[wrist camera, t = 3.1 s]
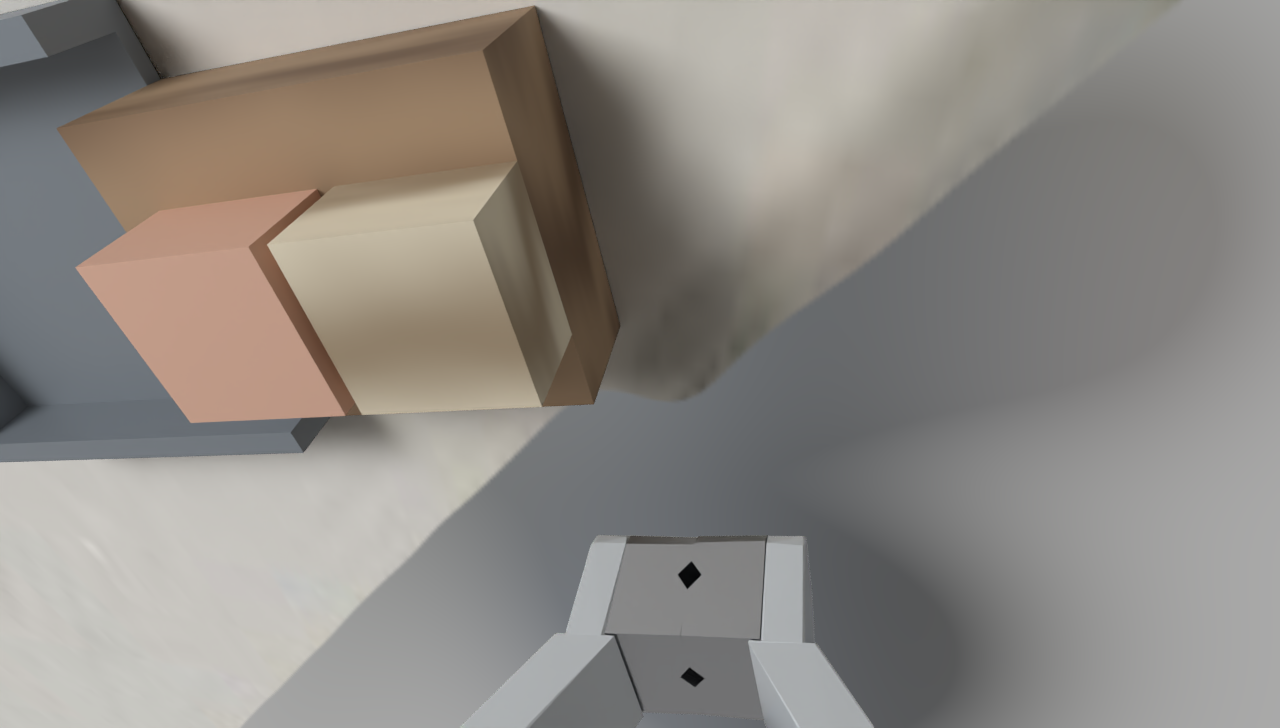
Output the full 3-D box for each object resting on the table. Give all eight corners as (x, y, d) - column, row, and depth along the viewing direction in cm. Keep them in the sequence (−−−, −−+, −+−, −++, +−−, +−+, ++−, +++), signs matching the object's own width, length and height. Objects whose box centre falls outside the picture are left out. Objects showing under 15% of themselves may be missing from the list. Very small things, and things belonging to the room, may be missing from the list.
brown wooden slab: (160, 79, 22) (55, 128, 19) (534, 5, 19) (482, 50, 16) (314, 348, 28) (253, 420, 25) (619, 325, 25) (593, 404, 22)
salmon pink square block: (159, 210, 20) (75, 267, 18) (316, 189, 19) (247, 246, 16) (252, 357, 23) (190, 422, 21) (394, 347, 22) (345, 415, 19)
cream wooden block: (333, 186, 19) (267, 244, 16) (517, 161, 17) (472, 219, 15) (409, 346, 22) (362, 415, 19) (572, 334, 20) (542, 406, 18)
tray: (-265, 78, 25) (-376, 109, 22) (108, -12, 21) (21, 14, 18) (37, 415, 34) (-20, 462, 31) (343, 399, 29) (303, 452, 27)
